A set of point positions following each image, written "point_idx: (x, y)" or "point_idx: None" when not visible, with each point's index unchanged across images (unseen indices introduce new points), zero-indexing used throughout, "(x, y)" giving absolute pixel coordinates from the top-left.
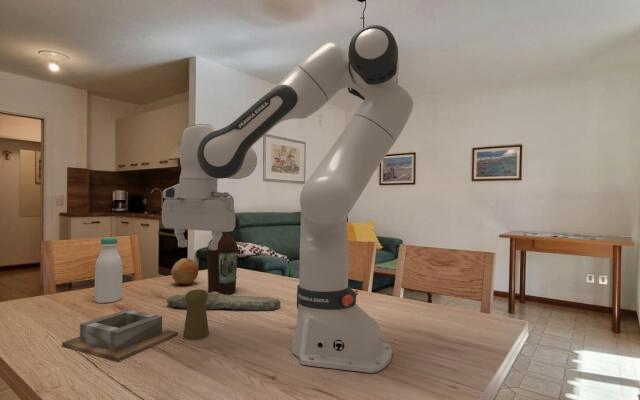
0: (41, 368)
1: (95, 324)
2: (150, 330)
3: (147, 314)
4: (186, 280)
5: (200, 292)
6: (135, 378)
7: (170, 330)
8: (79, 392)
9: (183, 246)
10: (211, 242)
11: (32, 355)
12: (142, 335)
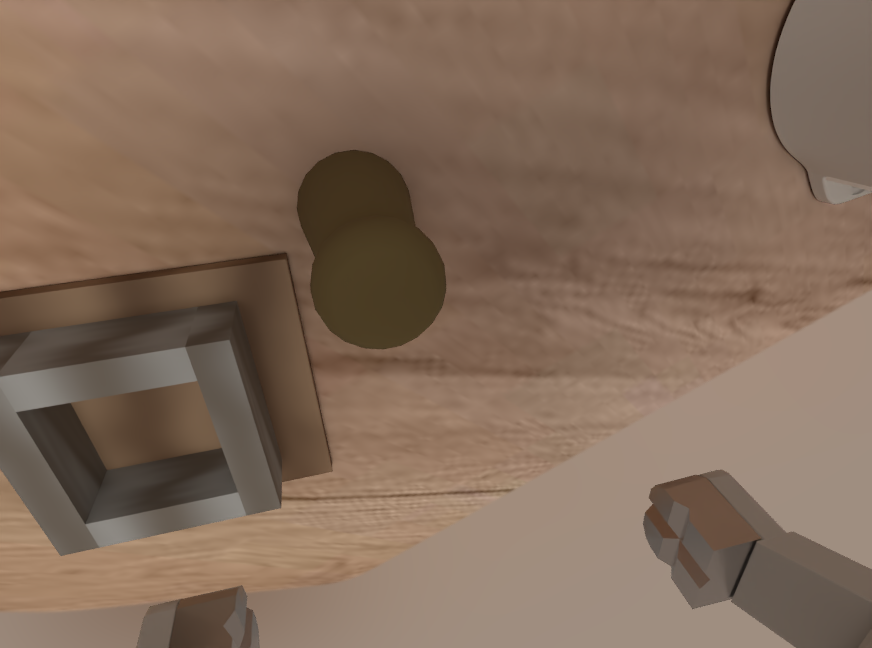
0: (205, 570)
1: (117, 527)
2: (249, 369)
3: (140, 365)
4: None
5: (430, 308)
6: (455, 469)
7: (242, 266)
8: (406, 544)
9: (252, 628)
10: (744, 602)
11: (75, 574)
12: (259, 395)
